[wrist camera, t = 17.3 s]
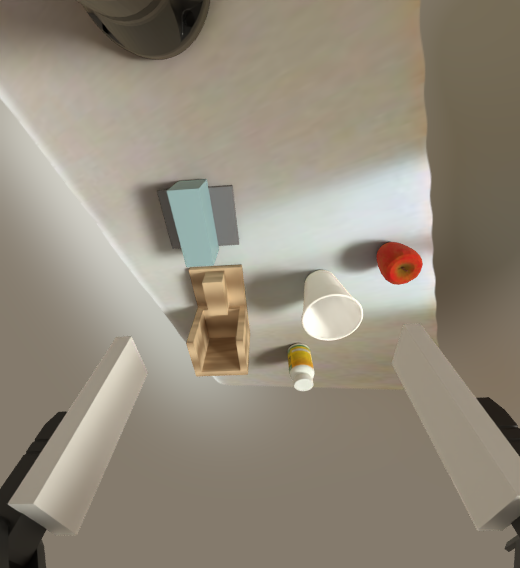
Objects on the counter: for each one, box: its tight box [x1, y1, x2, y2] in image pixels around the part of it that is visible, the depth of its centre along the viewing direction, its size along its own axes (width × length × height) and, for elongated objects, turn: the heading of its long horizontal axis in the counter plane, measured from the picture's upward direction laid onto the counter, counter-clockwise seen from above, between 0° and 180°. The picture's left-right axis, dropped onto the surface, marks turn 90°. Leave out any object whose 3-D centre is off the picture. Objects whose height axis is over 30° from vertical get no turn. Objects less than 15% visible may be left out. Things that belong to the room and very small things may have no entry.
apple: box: [376, 242, 423, 285], centre depth 45 cm, size 6×6×8 cm
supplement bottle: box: [287, 343, 314, 391], centre depth 59 cm, size 5×5×10 cm
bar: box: [167, 179, 219, 267], centre depth 42 cm, size 12×4×6 cm, turn 4°
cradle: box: [186, 265, 250, 376], centre depth 51 cm, size 18×10×11 cm, turn 4°
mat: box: [157, 185, 239, 248], centre depth 45 cm, size 10×12×1 cm
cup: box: [301, 270, 363, 340], centre depth 48 cm, size 10×10×11 cm
